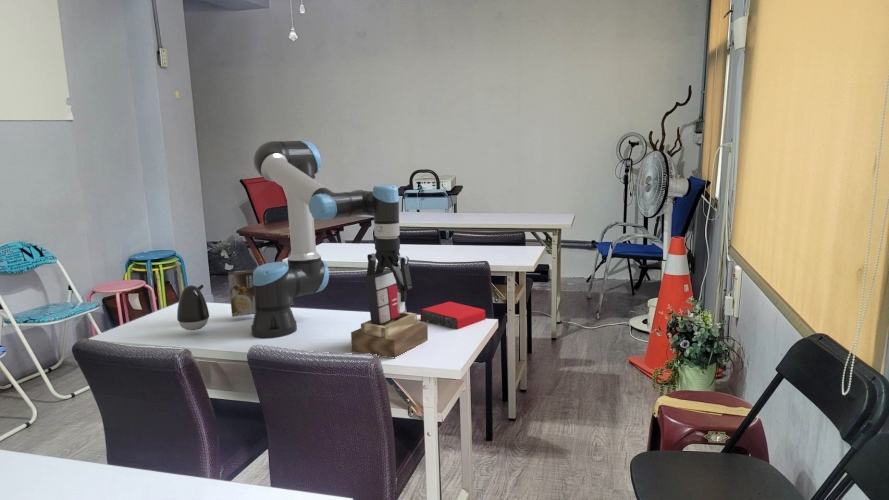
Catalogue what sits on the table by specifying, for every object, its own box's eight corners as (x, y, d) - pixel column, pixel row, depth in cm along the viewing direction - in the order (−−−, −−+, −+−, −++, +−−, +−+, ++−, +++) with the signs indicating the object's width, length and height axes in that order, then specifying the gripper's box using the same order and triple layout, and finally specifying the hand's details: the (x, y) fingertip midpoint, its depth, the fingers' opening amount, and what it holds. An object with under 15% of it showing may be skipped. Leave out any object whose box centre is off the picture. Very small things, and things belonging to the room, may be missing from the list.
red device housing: (420, 322, 210) (420, 308, 209) (448, 314, 220) (448, 301, 219) (457, 333, 198) (457, 318, 197) (485, 323, 208) (485, 309, 207)
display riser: (351, 351, 180) (350, 322, 179) (386, 334, 196) (385, 308, 194) (395, 360, 172) (394, 330, 171) (427, 342, 188) (427, 314, 186)
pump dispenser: (216, 325, 209) (213, 283, 206) (193, 334, 200) (189, 290, 197) (195, 322, 213) (192, 281, 211) (171, 330, 204) (167, 287, 201)
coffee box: (256, 310, 228) (253, 269, 226) (257, 314, 223) (254, 272, 220) (231, 312, 225) (227, 271, 222) (231, 317, 219) (228, 274, 217)
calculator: (381, 326, 178) (375, 276, 176) (369, 325, 180) (364, 276, 178) (401, 316, 187) (397, 269, 185) (390, 316, 189) (385, 269, 187)
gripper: (351, 236, 180) (354, 308, 184) (409, 241, 170) (411, 317, 174) (366, 233, 187) (369, 303, 191) (423, 237, 176) (425, 311, 180)
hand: (389, 309), depth 182 cm, fingers open, 8 cm apart
